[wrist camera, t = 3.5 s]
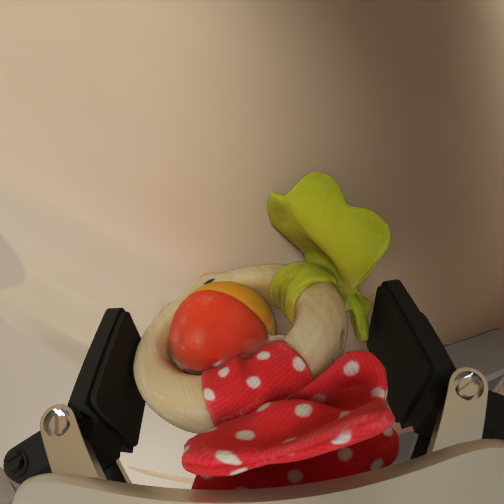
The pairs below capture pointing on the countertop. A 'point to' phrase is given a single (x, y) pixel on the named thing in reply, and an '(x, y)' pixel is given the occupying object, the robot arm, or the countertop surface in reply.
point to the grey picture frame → (463, 355)
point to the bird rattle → (278, 356)
